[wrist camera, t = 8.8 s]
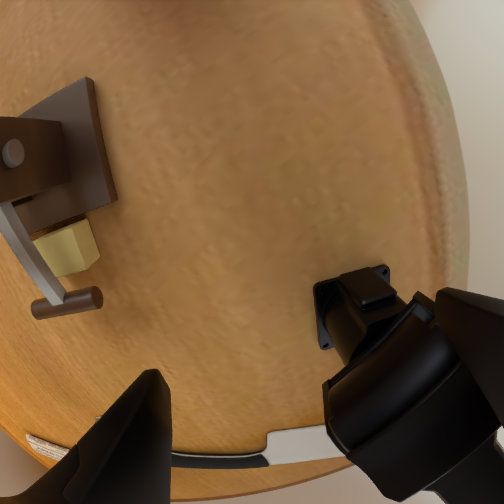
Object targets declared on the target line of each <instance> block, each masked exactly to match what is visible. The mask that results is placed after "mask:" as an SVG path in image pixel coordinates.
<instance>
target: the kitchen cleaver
mask: <svg viewBox="0 0 504 504" xmlns="http://www.w3.org/2000/svg"><path fill="white" fill-rule="evenodd" d="M340 456H345V455H344V454H343V453H342V452H340V451H339V449H338V448H337V447H336V446H335V445H334V443H333V442H332V440H331V439H330V437H329V436H328V435H327V433H326V426H325V424H324V425H318V426H311V427H304V428H296V429H288V430H281V431H274V432H270V433H268V435H267V447H266V449H265V450H264V451H263V452H262V451H259V452H255V453H249V454H233V455H215V454H191V453H181V452H175V451H172V456H171V467H181V468H199V469H245V468H260V467H268V466H269V465H274V464H285V463H294V462H302V461H309V460H317V459H324V458H332V457H340Z"/></svg>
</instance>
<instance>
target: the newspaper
mask: <svg viewBox="0 0 504 504" xmlns="http://www.w3.org/2000/svg"><path fill="white" fill-rule="evenodd" d="M26 438H27V440H28V442H29V444H30V445H31V447H32V448H33V449H34V450H36V451H37V452H38V453H41V454H43V455H46V456H48V457H51V458H53V459H56V460H59V461H60V460H61V459H62V458H63V457H64V456H65V455H66V454H67V453H68V452H69V451H70V449H67V448H64V447H61V446H58V445H55V444H52V443H50V442H47V441H44V440H42V439H39V438H37V437H34V436H32V435H30V434H26Z"/></svg>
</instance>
